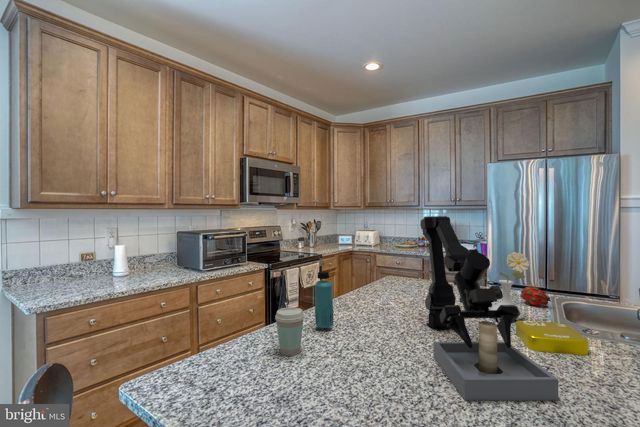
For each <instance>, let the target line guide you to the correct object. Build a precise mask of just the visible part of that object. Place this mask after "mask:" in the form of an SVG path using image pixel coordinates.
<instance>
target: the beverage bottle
mask: <svg viewBox="0 0 640 427" xmlns="http://www.w3.org/2000/svg"><path fill="white" fill-rule="evenodd" d="M316 277H317V279H319V280H317V282H316V283H315V284H314V323H315V326H316V327H318V328H324V329H325V328H331V327H332V326H334V319H335V318H334V303H333V302H334V298H333V296H334V295H333V284H332V282H331V281H330V280H328V279H330V272H329V271H327V270H326V271H325V270H322V271H318V272H317V276H316Z"/></svg>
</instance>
